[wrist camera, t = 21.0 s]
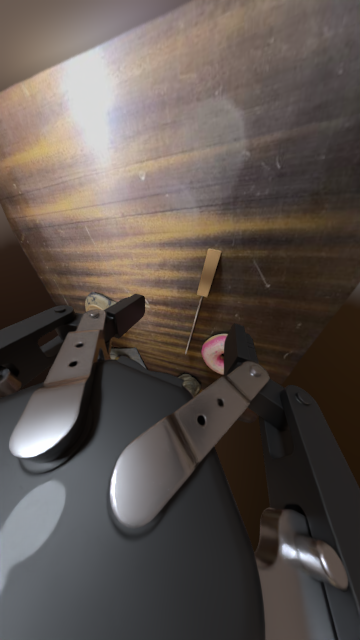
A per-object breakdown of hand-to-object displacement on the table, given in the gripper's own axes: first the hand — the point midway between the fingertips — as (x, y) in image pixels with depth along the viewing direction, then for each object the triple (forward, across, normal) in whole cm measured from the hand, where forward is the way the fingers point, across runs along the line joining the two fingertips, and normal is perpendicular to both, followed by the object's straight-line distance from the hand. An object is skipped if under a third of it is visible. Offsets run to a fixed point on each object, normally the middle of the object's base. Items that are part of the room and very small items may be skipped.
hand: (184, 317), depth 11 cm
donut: (+20, -11, +20) cm, 30 cm away
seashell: (+20, -3, +43) cm, 47 cm away
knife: (+20, 0, +10) cm, 23 cm away
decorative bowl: (+20, +31, +21) cm, 43 cm away
